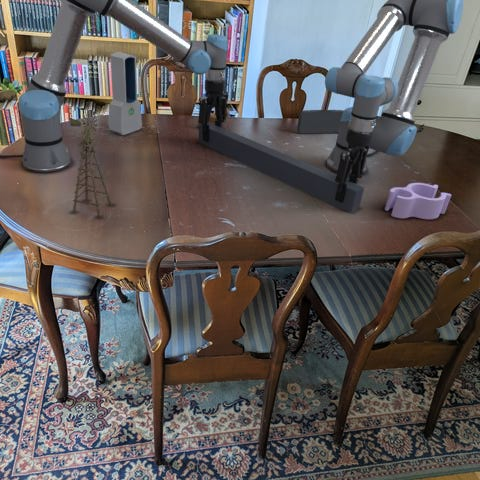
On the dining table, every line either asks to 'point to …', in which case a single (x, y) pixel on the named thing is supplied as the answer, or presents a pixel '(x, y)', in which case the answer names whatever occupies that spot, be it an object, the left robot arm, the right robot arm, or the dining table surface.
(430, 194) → the clip
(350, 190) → the post
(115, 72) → the electronic device
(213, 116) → the lion figurine
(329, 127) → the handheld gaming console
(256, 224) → the dining table surface
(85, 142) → the miniature windmill
